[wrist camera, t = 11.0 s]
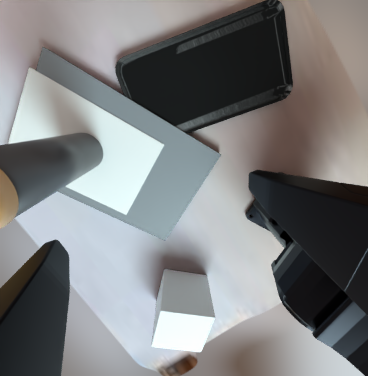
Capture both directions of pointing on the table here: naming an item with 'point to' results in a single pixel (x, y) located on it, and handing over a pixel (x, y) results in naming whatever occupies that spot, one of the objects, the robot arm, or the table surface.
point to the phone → (213, 69)
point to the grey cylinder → (42, 169)
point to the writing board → (115, 146)
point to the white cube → (182, 311)
